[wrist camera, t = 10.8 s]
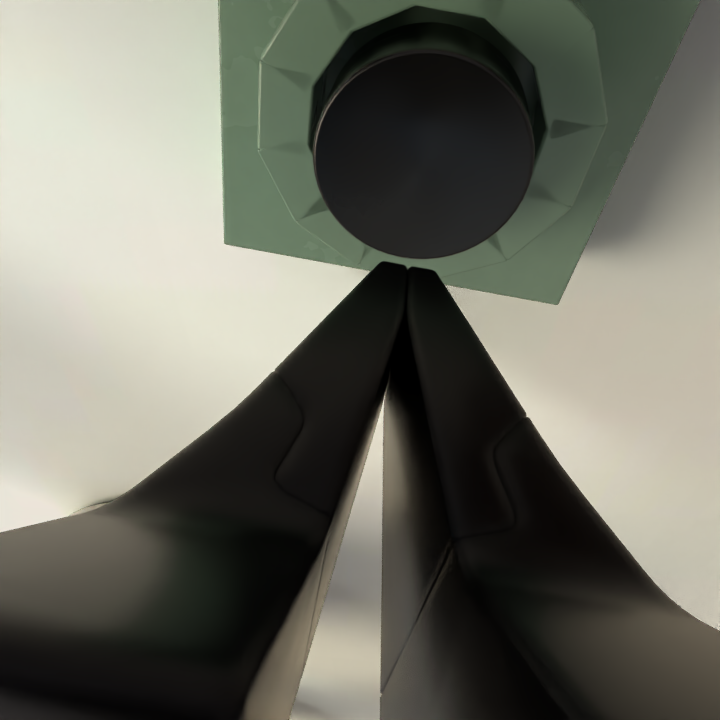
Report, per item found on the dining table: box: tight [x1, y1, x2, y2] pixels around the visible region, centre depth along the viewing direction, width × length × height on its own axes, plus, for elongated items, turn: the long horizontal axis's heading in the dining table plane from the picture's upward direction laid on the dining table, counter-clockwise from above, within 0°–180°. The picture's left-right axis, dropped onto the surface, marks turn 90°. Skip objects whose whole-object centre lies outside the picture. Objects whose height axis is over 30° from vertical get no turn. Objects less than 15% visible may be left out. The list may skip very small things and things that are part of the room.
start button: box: [313, 22, 535, 259], centre depth 13 cm, size 4×4×2 cm
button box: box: [218, 0, 700, 305], centre depth 15 cm, size 10×10×4 cm
